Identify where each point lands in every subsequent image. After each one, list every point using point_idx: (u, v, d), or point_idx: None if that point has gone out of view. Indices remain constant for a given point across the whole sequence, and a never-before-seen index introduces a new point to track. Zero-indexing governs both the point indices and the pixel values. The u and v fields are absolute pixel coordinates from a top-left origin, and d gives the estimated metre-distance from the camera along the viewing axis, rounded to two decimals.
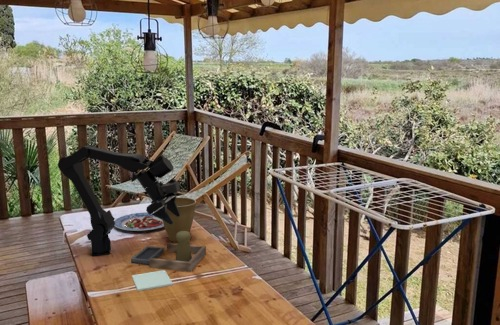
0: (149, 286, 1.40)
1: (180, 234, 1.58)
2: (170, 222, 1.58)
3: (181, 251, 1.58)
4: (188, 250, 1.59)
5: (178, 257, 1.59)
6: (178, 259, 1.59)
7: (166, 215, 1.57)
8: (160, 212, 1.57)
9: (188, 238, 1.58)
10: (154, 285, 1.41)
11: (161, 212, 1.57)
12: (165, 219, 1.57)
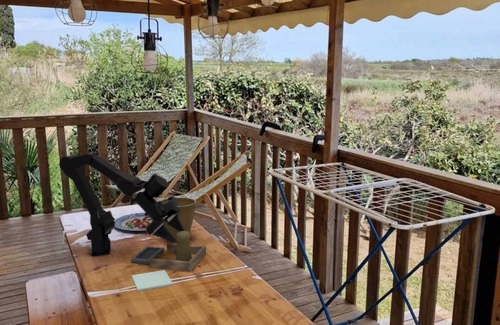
0: (149, 286, 1.40)
1: (180, 234, 1.58)
2: (172, 240, 1.55)
3: (181, 251, 1.58)
4: (188, 250, 1.59)
5: (178, 257, 1.59)
6: (178, 259, 1.59)
7: (167, 233, 1.54)
8: (161, 231, 1.55)
9: (188, 238, 1.58)
10: (154, 285, 1.41)
11: (162, 231, 1.55)
12: (167, 238, 1.55)
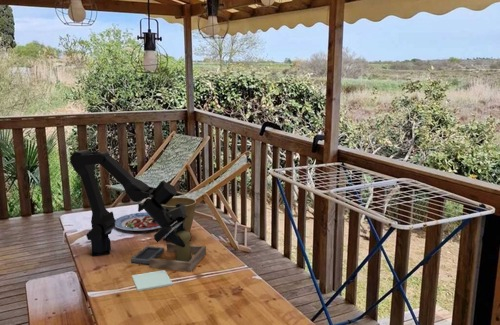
0: (149, 286, 1.40)
1: (180, 234, 1.58)
2: (182, 245, 1.57)
3: (181, 251, 1.58)
4: (188, 250, 1.59)
5: (178, 257, 1.59)
6: (178, 259, 1.59)
7: (177, 239, 1.56)
8: (171, 236, 1.57)
9: (188, 238, 1.58)
10: (154, 285, 1.41)
11: (172, 236, 1.56)
12: (177, 243, 1.57)
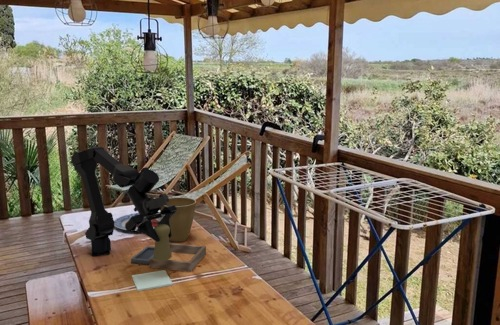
0: (149, 286, 1.40)
1: (156, 227, 1.45)
2: (156, 239, 1.44)
3: (156, 246, 1.45)
4: (164, 246, 1.45)
5: (154, 252, 1.46)
6: (154, 254, 1.46)
7: (151, 231, 1.43)
8: (146, 228, 1.45)
9: (164, 233, 1.44)
10: (154, 285, 1.41)
11: (147, 228, 1.44)
12: (151, 236, 1.44)
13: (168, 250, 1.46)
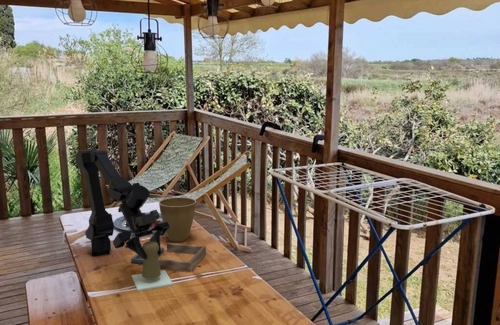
0: (149, 286, 1.40)
1: (144, 244, 1.42)
2: (144, 257, 1.41)
3: (144, 263, 1.42)
4: (152, 264, 1.42)
5: (142, 269, 1.43)
6: (142, 271, 1.43)
7: (138, 249, 1.41)
8: (134, 245, 1.42)
9: (151, 250, 1.41)
10: (154, 285, 1.41)
11: (135, 245, 1.42)
12: (139, 254, 1.41)
13: (156, 268, 1.43)
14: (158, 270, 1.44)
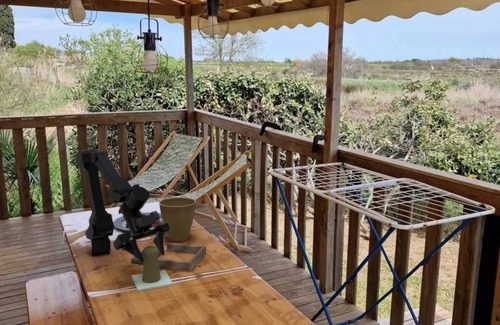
0: (149, 286, 1.40)
1: (144, 249, 1.42)
2: (141, 259, 1.40)
3: (144, 268, 1.43)
4: (152, 268, 1.42)
5: None
6: (142, 276, 1.44)
7: (135, 251, 1.40)
8: (131, 247, 1.41)
9: (151, 255, 1.41)
10: (154, 285, 1.41)
11: (132, 247, 1.41)
12: (136, 256, 1.41)
13: (156, 273, 1.43)
14: (158, 274, 1.44)
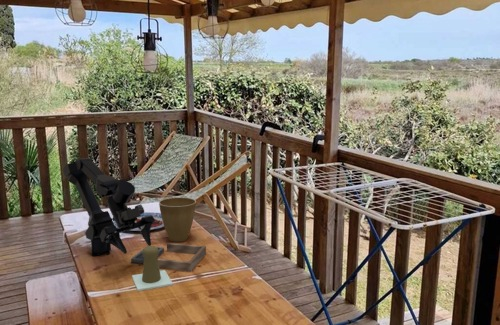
0: (149, 286, 1.40)
1: (144, 249, 1.42)
2: (124, 251, 1.46)
3: (144, 268, 1.43)
4: (152, 268, 1.42)
5: None
6: (142, 276, 1.44)
7: (118, 243, 1.46)
8: (115, 240, 1.48)
9: (151, 255, 1.41)
10: (154, 285, 1.41)
11: (116, 240, 1.48)
12: (119, 248, 1.47)
13: (156, 273, 1.43)
14: (158, 274, 1.44)
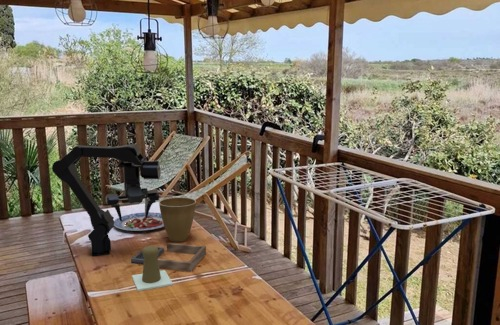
0: (149, 286, 1.40)
1: (144, 249, 1.42)
2: None
3: (144, 268, 1.43)
4: (152, 268, 1.42)
5: None
6: (142, 276, 1.44)
7: (117, 212, 1.63)
8: None
9: (151, 255, 1.41)
10: (154, 285, 1.41)
11: None
12: None
13: (156, 273, 1.43)
14: (158, 274, 1.44)
